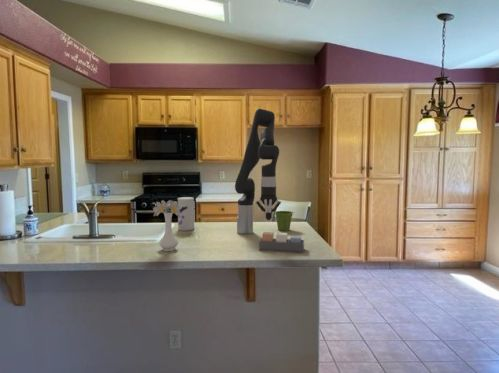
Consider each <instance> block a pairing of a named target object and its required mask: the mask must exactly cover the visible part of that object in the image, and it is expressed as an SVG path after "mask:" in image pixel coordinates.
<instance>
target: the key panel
mask: <svg viewBox="0 0 499 373" xmlns="http://www.w3.org/2000/svg"><path fill="white" fill-rule="evenodd" d="M258 251H264V252H266V251H267V252H280V253H281V252H283V253H299V254H300V253H301V254H303V253H304V251H305V239H301V243H290V239H289V238H287V243H285V242H276V238H274V241H273V242H265V241H262V237H261V238H260V240H259V241H258Z"/></svg>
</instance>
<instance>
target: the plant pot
mask: <svg viewBox="0 0 499 373" xmlns="http://www.w3.org/2000/svg"><path fill="white" fill-rule="evenodd" d="M274 214H275V217H276V226H277V231H282V232H288V231H290V229H291V222H292V217H293V215H294V212H293V211H290V210H275V211H274Z"/></svg>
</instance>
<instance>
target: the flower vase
mask: <svg viewBox="0 0 499 373" xmlns="http://www.w3.org/2000/svg"><path fill="white" fill-rule="evenodd" d="M155 203H156V204H155V207H152V211H153V213H154V214H153V217H155V216H156V217H158V216H159V215H160V214H161V213H163V215H164V222H165V224H164V226H165V228H164V234H163V236H162V237H161V238H160V239H159V243H158V245H159V246H160V248H161V249H162V251H164V252H172V251H175V250H176V248H177V246H178V245H179V240H178V238H176V237H175V235H174V233H173V228H172V227H173V226H172V225H173V224H172V217H173V214H175V215H176V216H177V217H178V216H179V213H181V212H180V211H179V210H180V209H182V207H181V206H179V205H178V201H175V200H170V199H169V200H168V201H165V200H161V201H156V202H155Z"/></svg>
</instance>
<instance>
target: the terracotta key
mask: <svg viewBox="0 0 499 373" xmlns="http://www.w3.org/2000/svg"><path fill="white" fill-rule="evenodd" d="M274 236H275V232H272V231H271V232H269V231H263V233H262V234H261V238H262V241H265V242H273V241H274V239H275V238H274Z"/></svg>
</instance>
